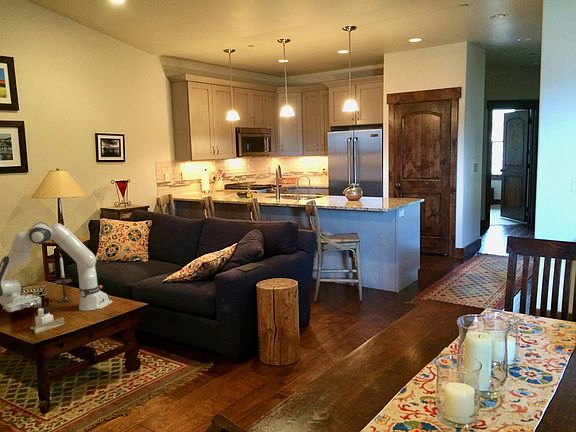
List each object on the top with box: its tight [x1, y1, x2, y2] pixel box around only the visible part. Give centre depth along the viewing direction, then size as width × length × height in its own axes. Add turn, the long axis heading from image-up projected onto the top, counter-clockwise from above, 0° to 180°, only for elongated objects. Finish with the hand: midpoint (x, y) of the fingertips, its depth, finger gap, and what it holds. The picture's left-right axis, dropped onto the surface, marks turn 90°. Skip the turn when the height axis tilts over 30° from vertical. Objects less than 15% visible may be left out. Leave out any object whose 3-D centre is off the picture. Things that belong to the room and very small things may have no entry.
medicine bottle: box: [34, 306, 54, 326], centre depth 287 cm, size 7×7×12 cm
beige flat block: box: [29, 317, 65, 335], centre depth 287 cm, size 11×18×4 cm, turn 148°
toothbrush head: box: [33, 301, 43, 309], centre depth 335 cm, size 5×7×25 cm
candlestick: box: [54, 252, 73, 304], centre depth 338 cm, size 11×11×35 cm
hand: (30, 305), depth 294 cm, fingers closed
